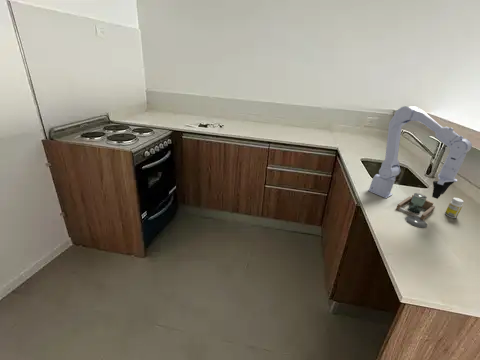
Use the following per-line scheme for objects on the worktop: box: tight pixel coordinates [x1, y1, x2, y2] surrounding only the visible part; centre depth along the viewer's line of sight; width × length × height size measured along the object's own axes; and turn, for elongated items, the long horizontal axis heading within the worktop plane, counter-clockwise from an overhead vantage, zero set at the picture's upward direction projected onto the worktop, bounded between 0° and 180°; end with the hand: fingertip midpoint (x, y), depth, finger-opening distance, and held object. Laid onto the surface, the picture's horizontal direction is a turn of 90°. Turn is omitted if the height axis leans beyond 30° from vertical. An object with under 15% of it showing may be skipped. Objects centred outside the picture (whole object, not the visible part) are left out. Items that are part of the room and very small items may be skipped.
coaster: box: [405, 215, 428, 229], centre depth 118 cm, size 8×8×1 cm
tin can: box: [407, 192, 428, 215], centre depth 126 cm, size 5×5×8 cm
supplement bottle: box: [444, 197, 464, 219], centre depth 126 cm, size 5×5×8 cm
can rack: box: [395, 194, 436, 221], centre depth 128 cm, size 11×15×4 cm
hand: (437, 195), depth 122 cm, fingers open, 7 cm apart
